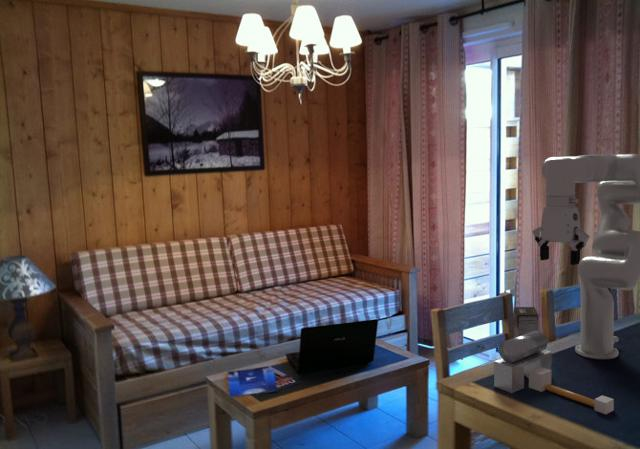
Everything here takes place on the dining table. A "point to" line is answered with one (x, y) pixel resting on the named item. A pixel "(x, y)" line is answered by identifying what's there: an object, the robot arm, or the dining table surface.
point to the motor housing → (520, 360)
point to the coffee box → (525, 320)
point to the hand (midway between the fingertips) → (559, 262)
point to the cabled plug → (542, 382)
